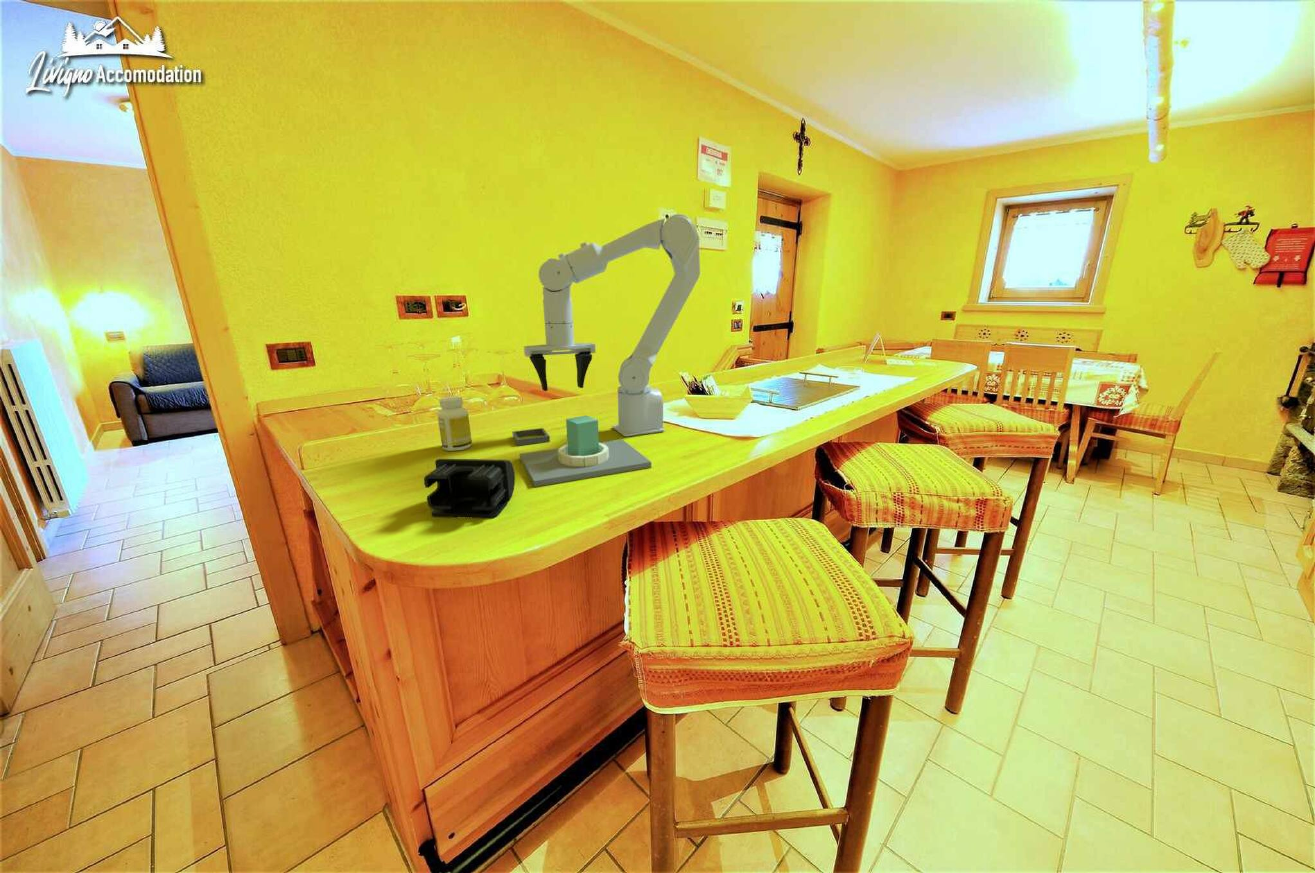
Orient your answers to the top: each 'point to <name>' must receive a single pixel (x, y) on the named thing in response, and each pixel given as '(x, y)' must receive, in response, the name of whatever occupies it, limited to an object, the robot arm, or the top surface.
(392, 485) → the top surface
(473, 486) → the end cap
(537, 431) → the dark grey square frame
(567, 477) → the socket board
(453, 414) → the supplement bottle
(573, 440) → the plug
